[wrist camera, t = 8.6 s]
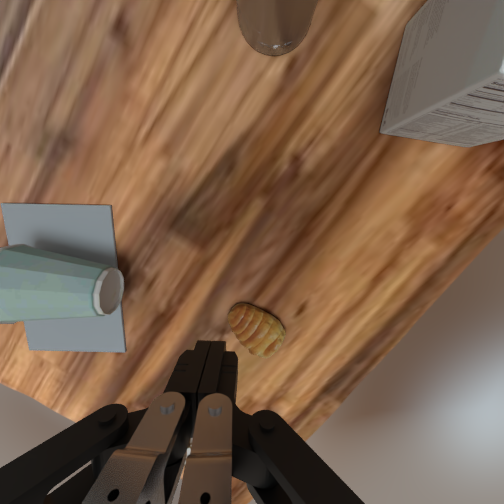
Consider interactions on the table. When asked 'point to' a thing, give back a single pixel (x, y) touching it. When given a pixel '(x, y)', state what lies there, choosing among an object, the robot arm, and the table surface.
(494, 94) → the supplement box
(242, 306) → the pastry
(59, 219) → the mat
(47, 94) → the table surface
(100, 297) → the disposable coffee cup
